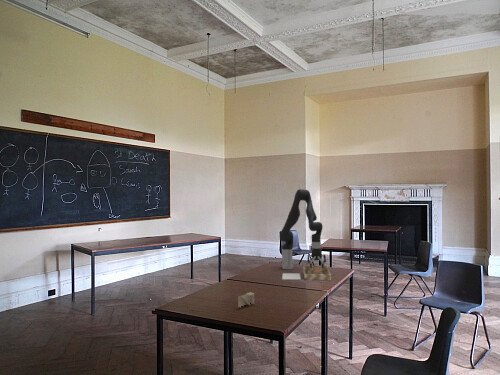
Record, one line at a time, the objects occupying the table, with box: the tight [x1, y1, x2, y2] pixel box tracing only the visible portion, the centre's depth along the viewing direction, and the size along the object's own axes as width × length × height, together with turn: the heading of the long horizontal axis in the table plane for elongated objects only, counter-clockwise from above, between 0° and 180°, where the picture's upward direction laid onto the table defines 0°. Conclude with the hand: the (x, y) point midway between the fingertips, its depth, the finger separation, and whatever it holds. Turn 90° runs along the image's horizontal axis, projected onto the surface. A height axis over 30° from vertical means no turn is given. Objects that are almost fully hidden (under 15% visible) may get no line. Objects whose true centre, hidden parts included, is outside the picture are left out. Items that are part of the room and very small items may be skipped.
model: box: [237, 291, 255, 308], centre depth 215 cm, size 3×11×8 cm, turn 141°
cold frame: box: [302, 265, 332, 281], centre depth 288 cm, size 20×20×7 cm
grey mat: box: [281, 272, 301, 281], centre depth 290 cm, size 14×20×1 cm
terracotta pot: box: [312, 265, 321, 274], centre depth 288 cm, size 6×6×8 cm
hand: (316, 268), depth 288 cm, fingers open, 8 cm apart
